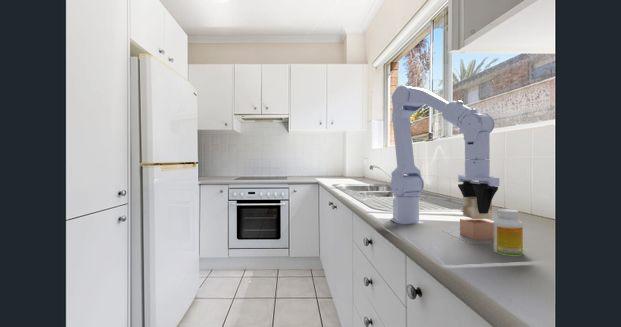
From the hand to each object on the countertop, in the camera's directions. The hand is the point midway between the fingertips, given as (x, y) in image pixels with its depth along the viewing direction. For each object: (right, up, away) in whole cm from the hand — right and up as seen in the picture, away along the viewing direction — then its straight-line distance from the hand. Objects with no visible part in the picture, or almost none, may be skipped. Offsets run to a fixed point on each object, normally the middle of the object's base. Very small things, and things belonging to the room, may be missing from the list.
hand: (477, 211), depth 83 cm
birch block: (0, -1, 0) cm, 1 cm away
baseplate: (0, -7, 0) cm, 7 cm away
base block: (0, -6, 0) cm, 6 cm away
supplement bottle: (-1, -7, -14) cm, 16 cm away
